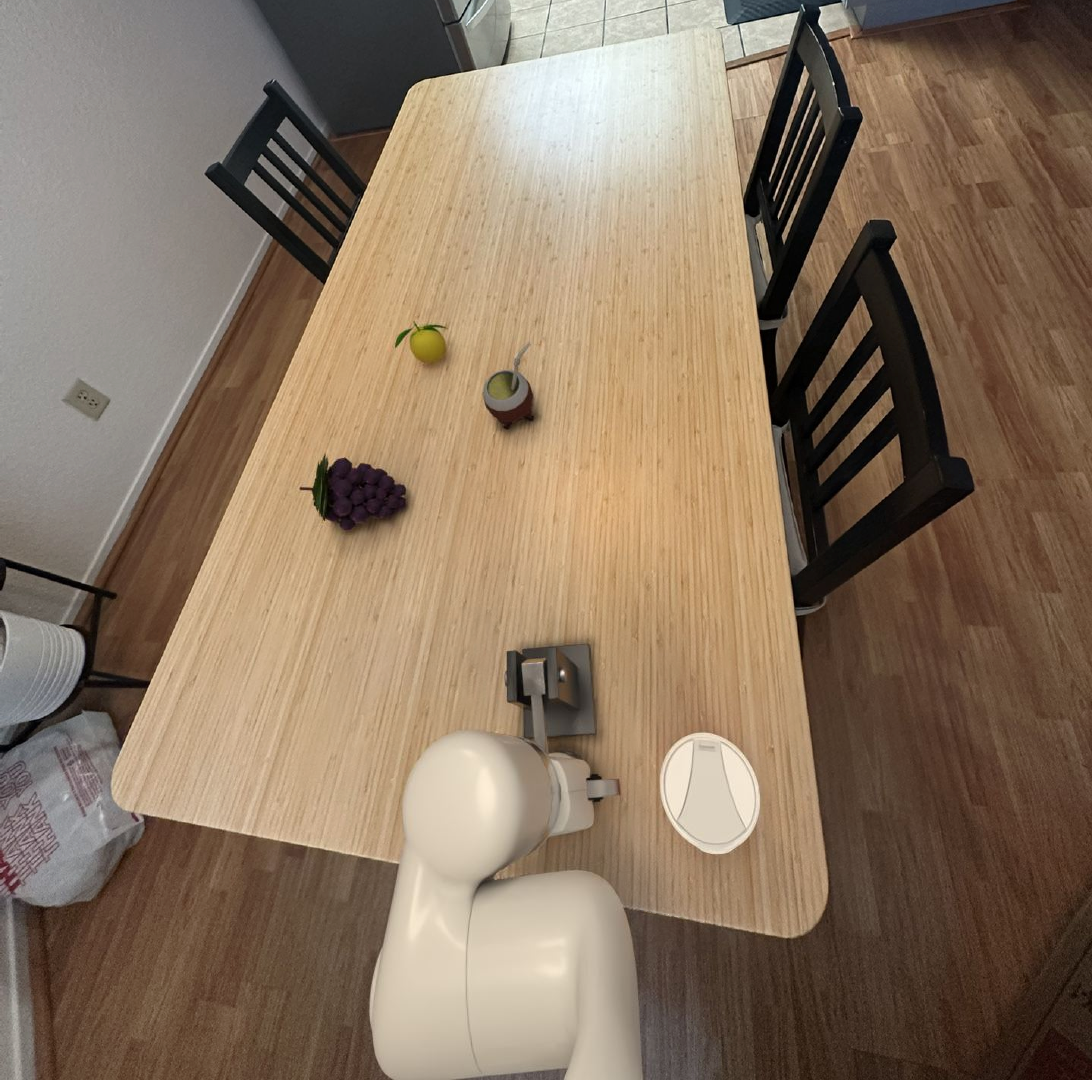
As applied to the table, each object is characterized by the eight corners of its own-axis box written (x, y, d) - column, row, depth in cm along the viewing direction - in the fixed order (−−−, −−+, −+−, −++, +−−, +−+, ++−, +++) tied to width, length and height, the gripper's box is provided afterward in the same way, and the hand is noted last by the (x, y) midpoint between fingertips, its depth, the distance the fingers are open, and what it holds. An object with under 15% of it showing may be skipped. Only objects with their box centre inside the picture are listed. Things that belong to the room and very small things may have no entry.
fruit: (408, 534, 88) (302, 534, 87) (414, 462, 93) (313, 461, 92) (397, 523, 79) (278, 522, 78) (404, 443, 83) (292, 441, 82)
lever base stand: (597, 734, 68) (576, 726, 56) (526, 738, 69) (490, 732, 57) (590, 645, 73) (569, 620, 61) (524, 650, 74) (491, 627, 62)
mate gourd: (485, 422, 92) (453, 370, 80) (511, 381, 96) (485, 325, 84) (526, 441, 89) (500, 389, 77) (552, 398, 93) (531, 341, 80)
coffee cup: (664, 735, 66) (658, 727, 54) (744, 742, 65) (755, 736, 52) (666, 833, 62) (660, 849, 49) (752, 844, 60) (767, 862, 48)
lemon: (411, 371, 101) (386, 336, 93) (422, 342, 104) (399, 305, 96) (448, 375, 99) (426, 339, 91) (459, 345, 102) (438, 308, 94)
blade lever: (574, 798, 57) (571, 808, 55) (522, 801, 58) (516, 811, 56) (561, 656, 61) (557, 660, 59) (512, 660, 62) (506, 664, 60)
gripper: (392, 865, 44) (467, 840, 59) (628, 857, 42) (644, 833, 57) (401, 742, 48) (469, 748, 63) (616, 728, 46) (634, 738, 61)
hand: (551, 788), depth 60 cm, fingers closed on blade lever, 5 cm apart
